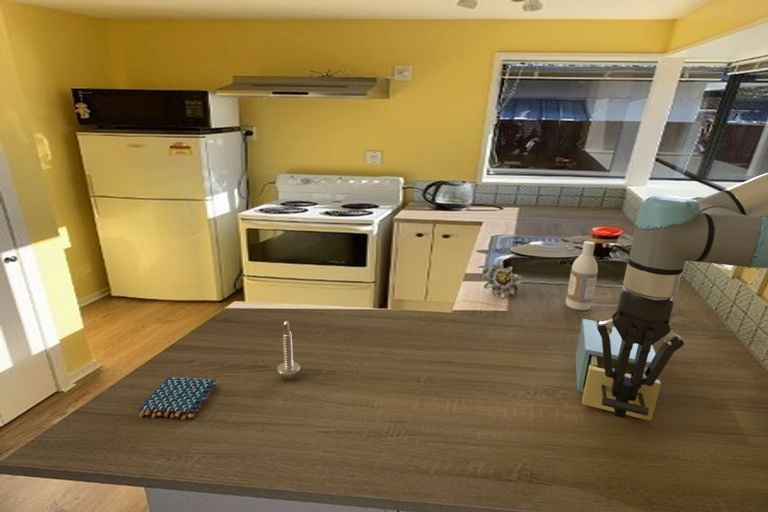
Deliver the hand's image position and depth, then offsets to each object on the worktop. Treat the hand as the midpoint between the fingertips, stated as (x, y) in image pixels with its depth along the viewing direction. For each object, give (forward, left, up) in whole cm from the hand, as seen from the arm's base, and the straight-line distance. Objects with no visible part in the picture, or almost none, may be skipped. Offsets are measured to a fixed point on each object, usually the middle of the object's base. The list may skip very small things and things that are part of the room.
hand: (619, 412), depth 76 cm
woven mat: (+16, +80, -3) cm, 82 cm away
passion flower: (+62, -3, -3) cm, 62 cm away
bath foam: (+50, -23, -3) cm, 55 cm away
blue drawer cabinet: (+14, -8, -3) cm, 16 cm away
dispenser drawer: (+6, -3, -2) cm, 7 cm away
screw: (+22, +60, -3) cm, 64 cm away
